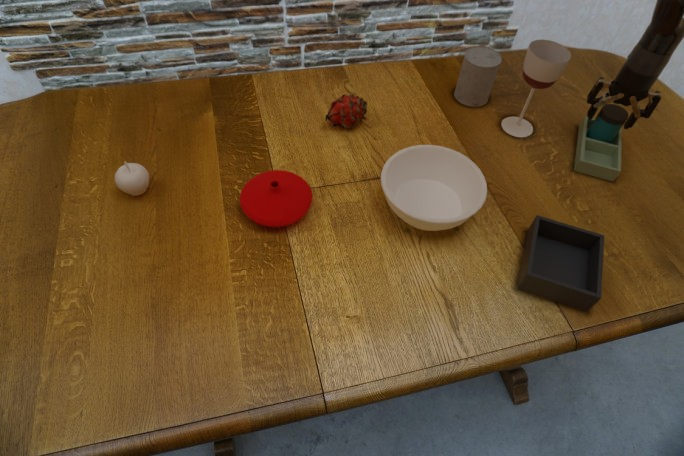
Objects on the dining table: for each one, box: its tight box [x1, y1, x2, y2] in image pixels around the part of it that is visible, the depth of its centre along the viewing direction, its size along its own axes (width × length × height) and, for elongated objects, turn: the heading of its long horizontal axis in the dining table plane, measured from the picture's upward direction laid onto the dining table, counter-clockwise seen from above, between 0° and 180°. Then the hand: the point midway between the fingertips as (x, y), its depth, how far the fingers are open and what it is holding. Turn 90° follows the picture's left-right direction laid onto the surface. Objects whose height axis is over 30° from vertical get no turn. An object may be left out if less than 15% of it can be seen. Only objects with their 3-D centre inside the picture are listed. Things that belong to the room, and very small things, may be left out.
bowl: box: [380, 144, 488, 232], centre depth 100 cm, size 22×22×8 cm
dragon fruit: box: [324, 93, 368, 130], centre depth 117 cm, size 8×8×12 cm
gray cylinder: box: [453, 45, 503, 108], centre depth 124 cm, size 10×10×12 cm
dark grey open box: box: [516, 214, 605, 313], centre depth 92 cm, size 14×16×6 cm
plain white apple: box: [114, 161, 150, 197], centre depth 101 cm, size 7×7×8 cm
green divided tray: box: [573, 115, 623, 182], centre depth 115 cm, size 9×18×4 cm, turn 159°
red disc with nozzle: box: [239, 169, 313, 228], centre depth 100 cm, size 16×16×7 cm
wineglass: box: [500, 39, 572, 138], centre depth 113 cm, size 9×10×22 cm
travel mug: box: [586, 103, 630, 144], centre depth 115 cm, size 6×6×9 cm
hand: (607, 122), depth 114 cm, fingers open, 8 cm apart
